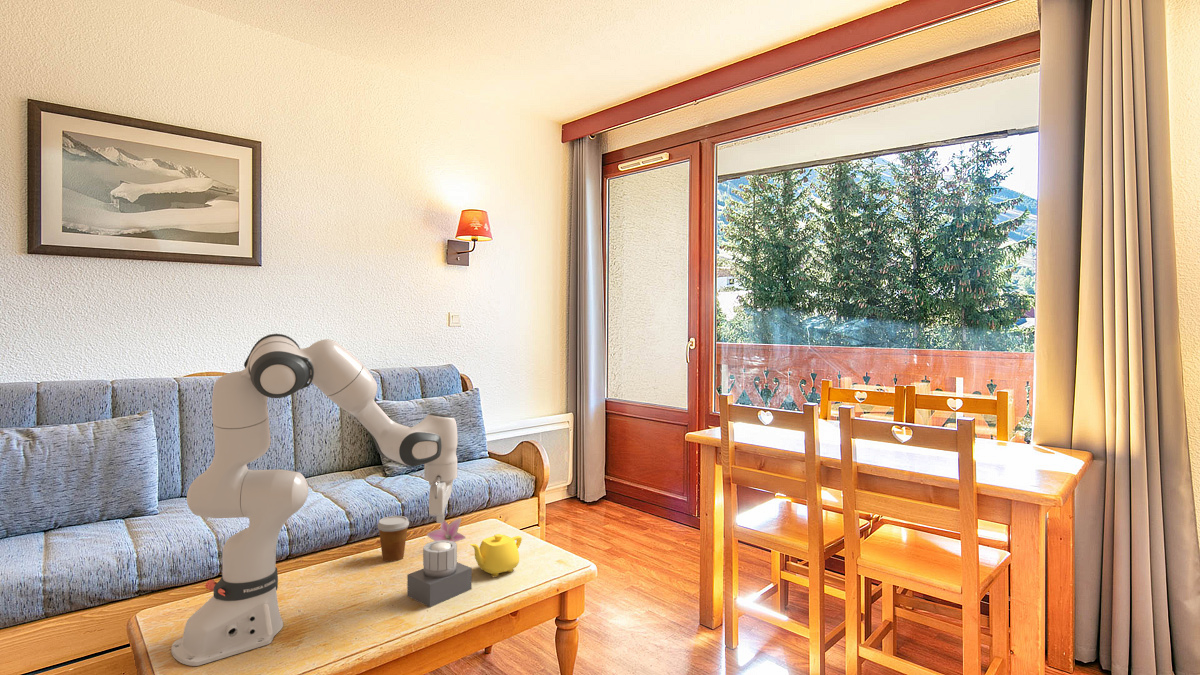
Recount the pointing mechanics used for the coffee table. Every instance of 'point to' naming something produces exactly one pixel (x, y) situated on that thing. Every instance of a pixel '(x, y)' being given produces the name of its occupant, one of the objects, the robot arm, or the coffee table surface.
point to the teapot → (498, 554)
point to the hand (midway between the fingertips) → (440, 521)
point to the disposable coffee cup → (393, 537)
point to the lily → (447, 532)
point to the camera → (439, 576)
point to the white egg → (440, 546)
